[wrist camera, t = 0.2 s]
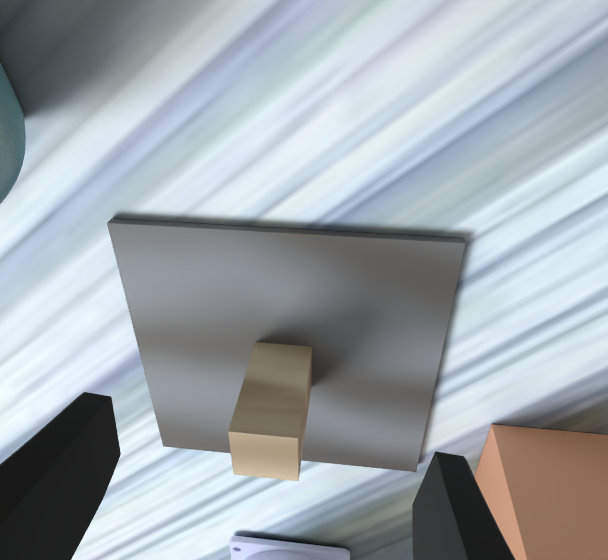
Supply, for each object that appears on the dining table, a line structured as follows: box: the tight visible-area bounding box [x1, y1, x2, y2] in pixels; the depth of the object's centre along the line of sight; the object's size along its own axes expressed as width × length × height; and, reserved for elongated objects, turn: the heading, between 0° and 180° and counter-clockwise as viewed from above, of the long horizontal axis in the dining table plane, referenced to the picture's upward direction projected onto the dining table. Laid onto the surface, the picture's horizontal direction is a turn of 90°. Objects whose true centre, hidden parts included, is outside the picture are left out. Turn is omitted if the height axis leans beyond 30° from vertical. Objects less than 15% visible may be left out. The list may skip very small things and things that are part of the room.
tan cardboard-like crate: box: [474, 424, 608, 560], centre depth 22 cm, size 6×6×7 cm
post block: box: [107, 219, 466, 481], centre depth 21 cm, size 14×14×5 cm
